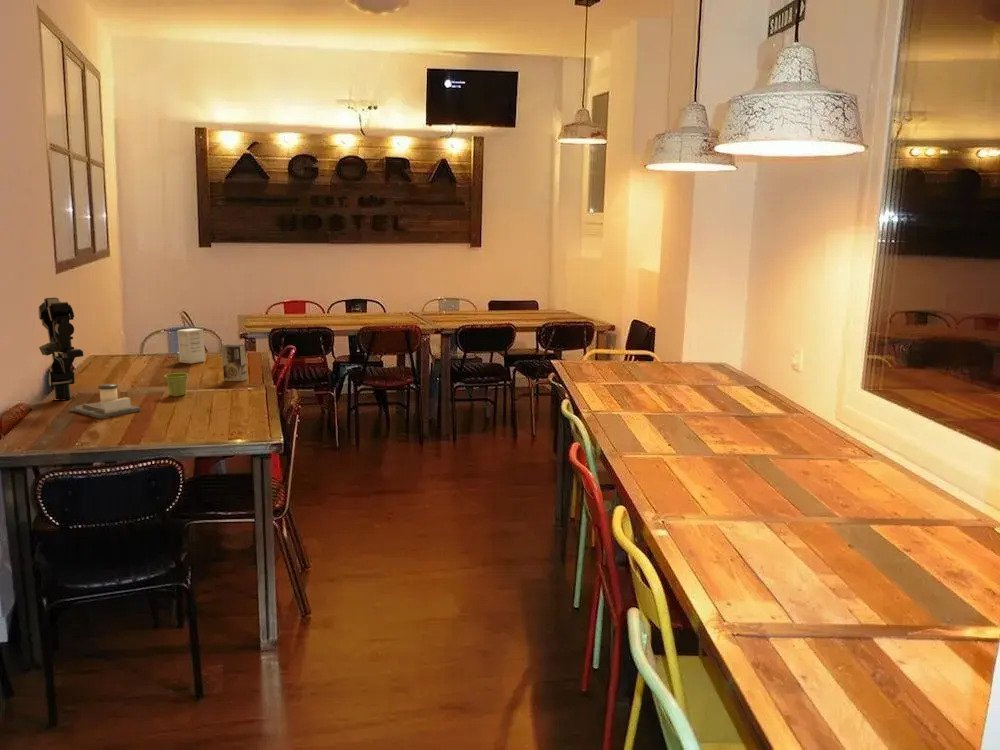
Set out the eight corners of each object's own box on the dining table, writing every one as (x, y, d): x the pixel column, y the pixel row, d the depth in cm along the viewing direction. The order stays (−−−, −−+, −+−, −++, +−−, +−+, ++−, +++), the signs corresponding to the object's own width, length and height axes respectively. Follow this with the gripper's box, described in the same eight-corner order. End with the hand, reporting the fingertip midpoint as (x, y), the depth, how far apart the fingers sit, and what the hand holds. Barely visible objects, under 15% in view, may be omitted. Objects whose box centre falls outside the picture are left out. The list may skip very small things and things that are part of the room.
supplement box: (206, 361, 427) (203, 329, 424) (191, 363, 420) (188, 331, 416) (194, 359, 432) (191, 327, 429) (179, 362, 425) (176, 329, 421)
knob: (96, 408, 315) (94, 385, 313) (113, 404, 320) (111, 382, 319) (105, 410, 311) (103, 387, 309) (123, 407, 316) (121, 385, 315)
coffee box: (248, 378, 382) (246, 344, 378) (242, 381, 375) (240, 346, 372) (229, 378, 382) (227, 344, 379) (223, 381, 376) (221, 346, 373)
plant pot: (164, 398, 341) (163, 377, 339) (167, 393, 350) (165, 373, 348) (188, 396, 343) (187, 376, 342) (190, 392, 352) (189, 372, 351)
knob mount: (71, 410, 318) (69, 397, 317) (111, 403, 331) (109, 390, 330) (99, 419, 305) (98, 404, 304) (140, 411, 318) (139, 397, 317)
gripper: (29, 335, 320) (33, 374, 323) (52, 338, 310) (57, 379, 312) (58, 332, 329) (62, 370, 332) (82, 335, 318) (86, 374, 321)
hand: (66, 373), depth 324 cm, fingers closed
